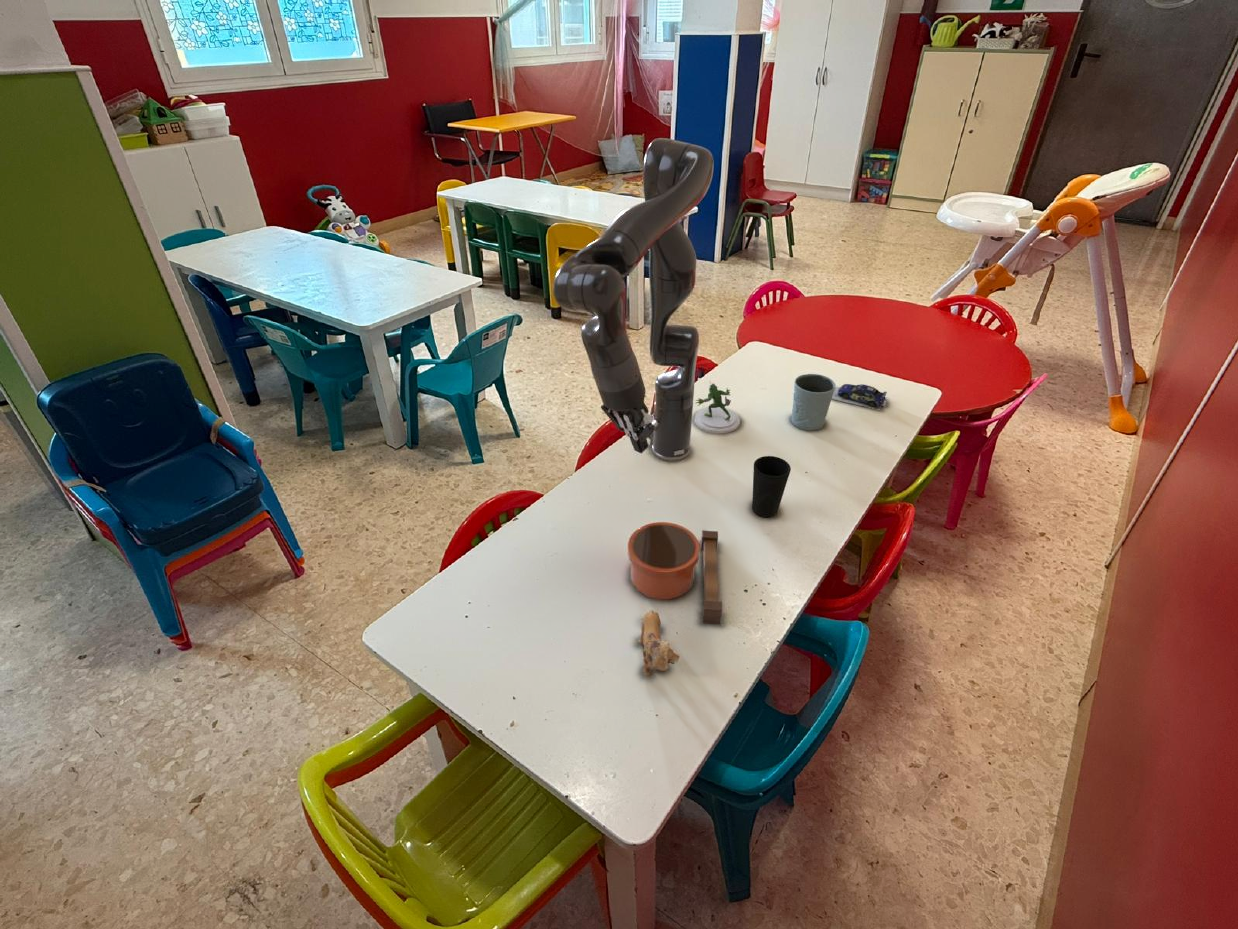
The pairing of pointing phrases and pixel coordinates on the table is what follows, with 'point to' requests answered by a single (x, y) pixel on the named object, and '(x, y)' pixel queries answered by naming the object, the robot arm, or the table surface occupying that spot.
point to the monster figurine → (716, 413)
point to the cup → (769, 485)
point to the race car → (860, 396)
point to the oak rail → (710, 578)
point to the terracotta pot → (663, 559)
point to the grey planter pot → (811, 401)
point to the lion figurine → (655, 645)
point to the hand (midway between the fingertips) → (641, 449)
